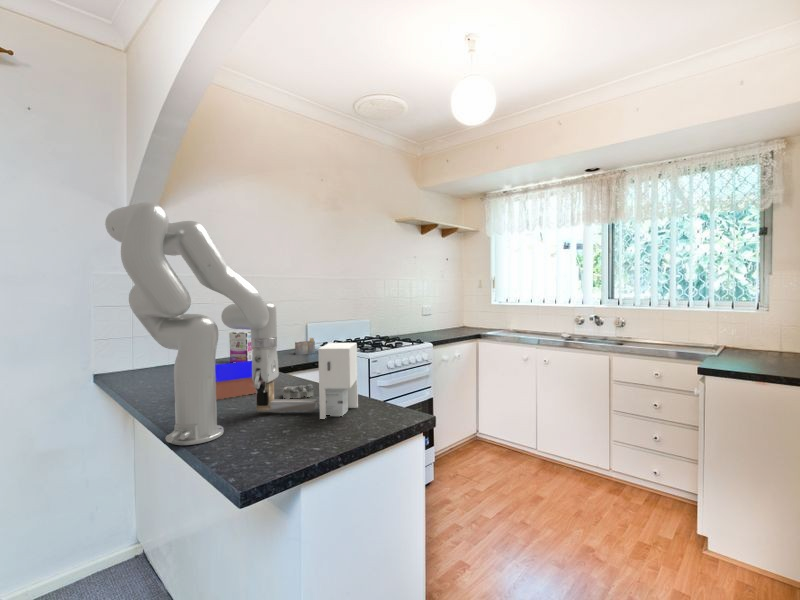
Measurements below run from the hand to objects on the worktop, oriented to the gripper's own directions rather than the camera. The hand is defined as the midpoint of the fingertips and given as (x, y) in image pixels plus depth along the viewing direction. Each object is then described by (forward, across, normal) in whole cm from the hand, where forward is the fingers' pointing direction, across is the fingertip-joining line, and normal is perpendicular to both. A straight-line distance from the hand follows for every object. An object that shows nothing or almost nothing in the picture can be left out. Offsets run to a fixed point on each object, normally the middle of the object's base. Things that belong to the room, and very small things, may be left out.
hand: (265, 402), depth 123 cm
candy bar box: (+3, +90, +49) cm, 103 cm away
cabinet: (+3, 0, -23) cm, 23 cm away
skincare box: (+4, 0, -22) cm, 22 cm away
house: (+4, +25, +20) cm, 32 cm away
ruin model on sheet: (+4, +119, +22) cm, 121 cm away
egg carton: (+4, +20, -4) cm, 21 cm away
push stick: (+2, 0, -7) cm, 7 cm away
